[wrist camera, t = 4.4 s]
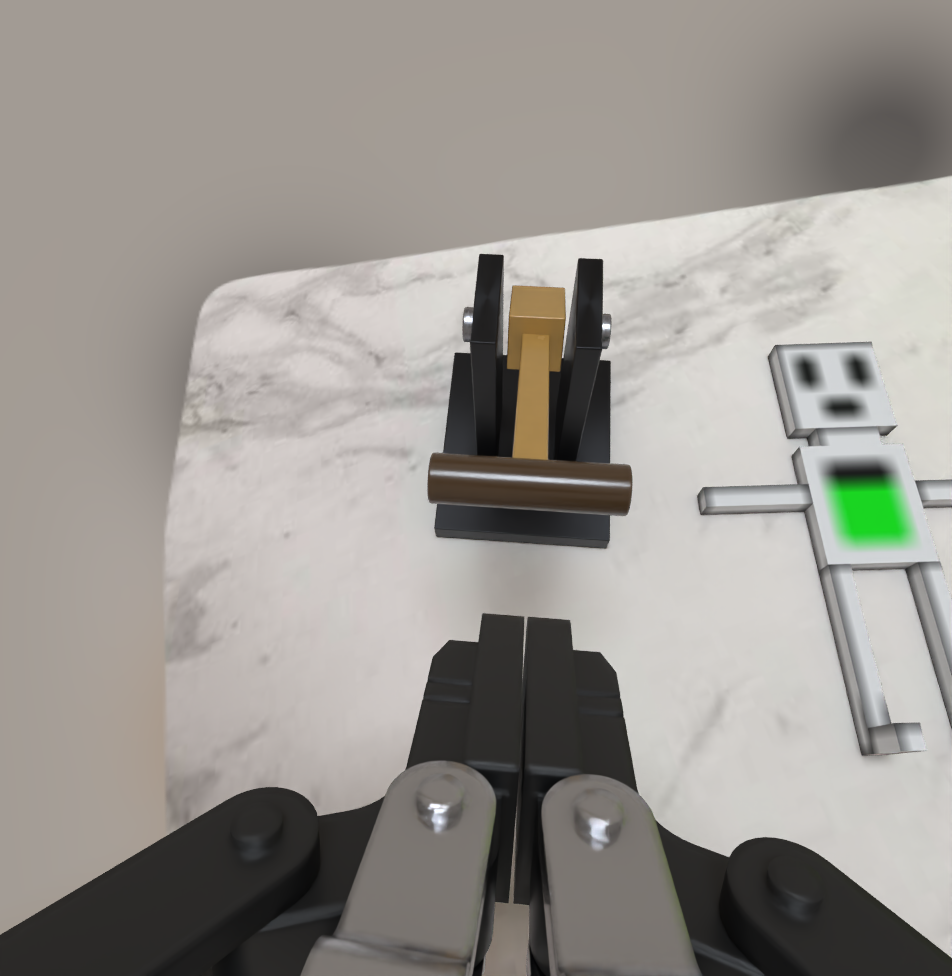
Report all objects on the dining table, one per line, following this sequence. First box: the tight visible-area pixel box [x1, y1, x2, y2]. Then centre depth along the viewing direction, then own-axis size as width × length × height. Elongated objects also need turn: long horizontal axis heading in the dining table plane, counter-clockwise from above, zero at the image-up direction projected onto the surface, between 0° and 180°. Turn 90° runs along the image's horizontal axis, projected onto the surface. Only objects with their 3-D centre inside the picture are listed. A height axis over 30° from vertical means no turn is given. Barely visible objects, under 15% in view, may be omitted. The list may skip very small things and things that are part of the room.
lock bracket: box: [434, 254, 611, 548], centre depth 33 cm, size 11×9×13 cm
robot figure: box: [698, 342, 952, 755], centre depth 34 cm, size 16×3×22 cm
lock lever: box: [428, 286, 632, 516], centre depth 25 cm, size 12×6×2 cm, turn 175°
